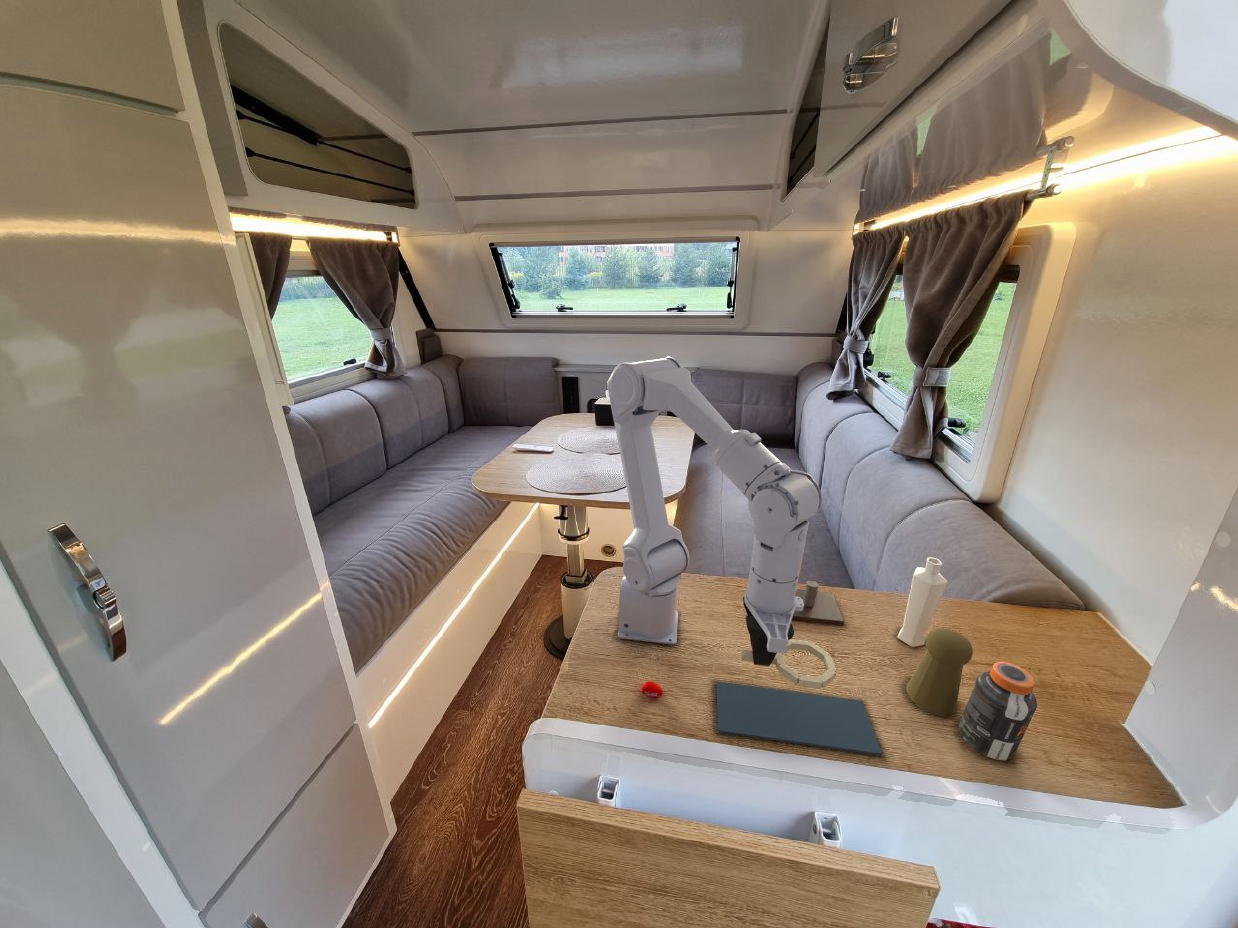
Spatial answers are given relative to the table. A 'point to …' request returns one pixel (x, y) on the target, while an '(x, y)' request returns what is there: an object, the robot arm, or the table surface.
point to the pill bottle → (999, 711)
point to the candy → (652, 689)
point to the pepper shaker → (940, 672)
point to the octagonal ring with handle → (795, 677)
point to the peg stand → (817, 606)
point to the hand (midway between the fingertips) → (760, 655)
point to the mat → (795, 718)
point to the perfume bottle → (922, 602)
